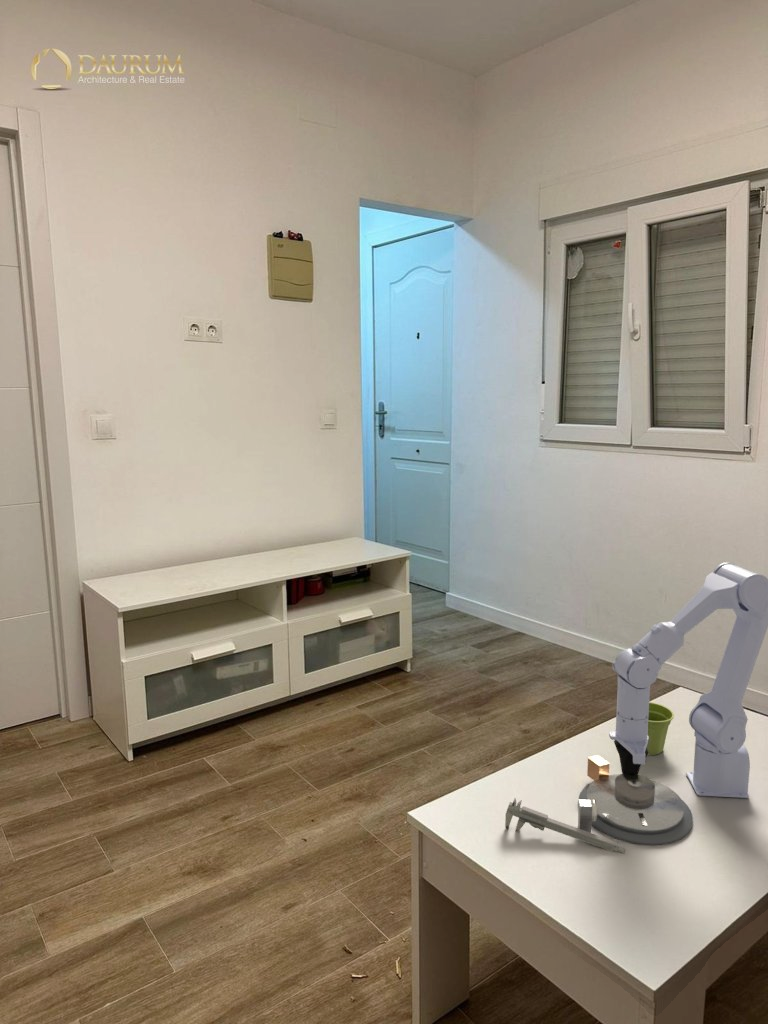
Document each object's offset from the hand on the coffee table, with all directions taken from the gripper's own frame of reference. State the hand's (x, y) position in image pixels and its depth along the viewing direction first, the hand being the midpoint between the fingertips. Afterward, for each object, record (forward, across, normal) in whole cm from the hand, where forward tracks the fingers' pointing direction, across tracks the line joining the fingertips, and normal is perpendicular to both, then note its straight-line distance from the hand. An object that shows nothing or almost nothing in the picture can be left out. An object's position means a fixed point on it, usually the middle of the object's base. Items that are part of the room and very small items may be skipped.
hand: (629, 779), depth 139 cm
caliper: (+4, +15, -14) cm, 21 cm away
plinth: (+3, +5, 0) cm, 6 cm away
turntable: (+2, +4, 0) cm, 4 cm away
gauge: (+3, +12, -10) cm, 16 cm away
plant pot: (+4, -19, +8) cm, 21 cm away
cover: (+1, +5, 0) cm, 5 cm away
